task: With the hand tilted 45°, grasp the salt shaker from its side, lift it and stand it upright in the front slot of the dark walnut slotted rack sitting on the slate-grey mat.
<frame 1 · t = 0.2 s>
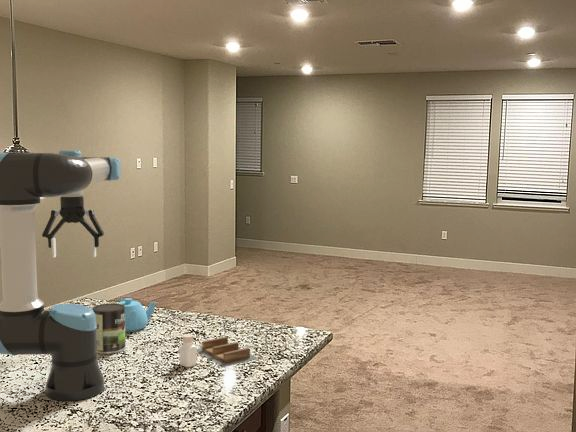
hand: (74, 257, 216), 28 cm above the countertop, tool pointing down, fingers open, 13 cm apart
salt shaker: (188, 366, 191), on the countertop
teapot: (129, 327, 229), on the countertop
coffee can: (109, 349, 205), on the countertop
mat: (225, 355, 201), on the countertop
rack: (231, 356, 198), resting on mat
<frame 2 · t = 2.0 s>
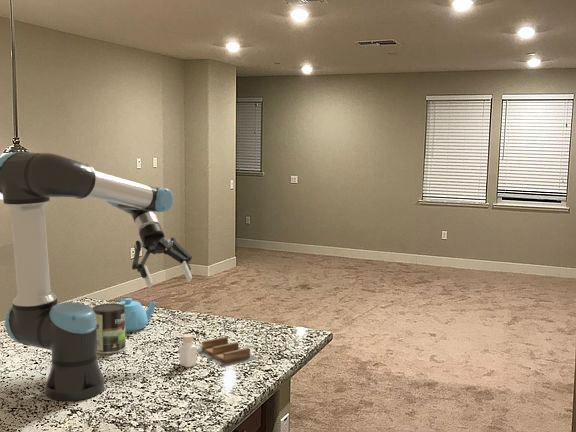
hand: (170, 282, 197), 24 cm above the countertop, tool tilted 45°, fingers open, 13 cm apart
nothing on the countertop moved.
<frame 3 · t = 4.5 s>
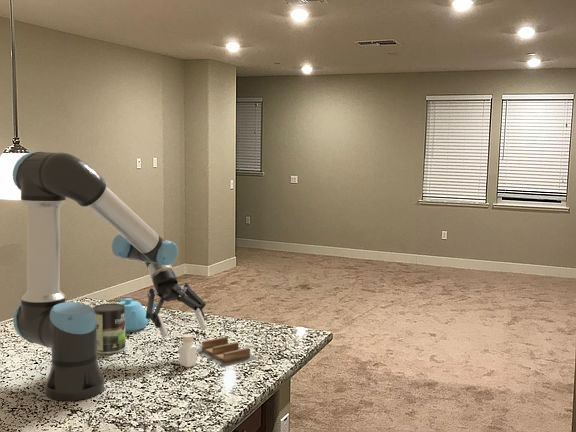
hand: (185, 332, 195), 9 cm above the countertop, tool tilted 45°, fingers open, 13 cm apart
nothing on the countertop moved.
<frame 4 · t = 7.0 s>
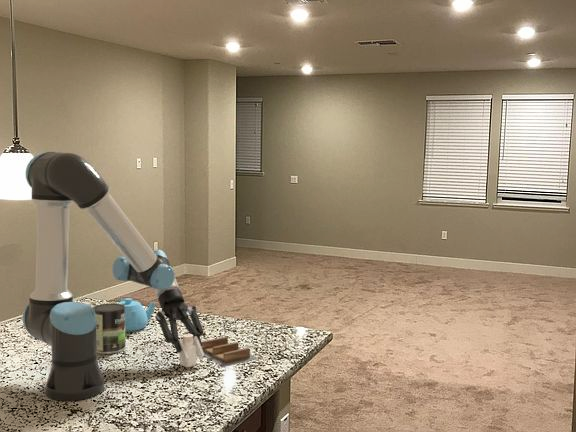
hand: (193, 358, 188), 3 cm above the countertop, tool tilted 45°, fingers closed on salt shaker, 4 cm apart
salt shaker: (188, 366, 191), on the countertop, touching gripper
everything else where it was.
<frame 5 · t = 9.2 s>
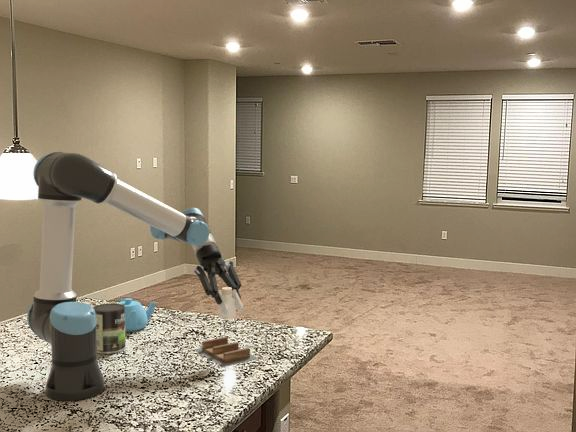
hand: (233, 310, 193), 17 cm above the countertop, tool tilted 45°, fingers closed on salt shaker, 4 cm apart
salt shaker: (227, 318, 196), point 13 cm above the countertop, touching gripper
everything else where it was.
when the fingers open (6 cm above the countertop, at t = 11.4 s): salt shaker drops 1 cm, resting on rack.
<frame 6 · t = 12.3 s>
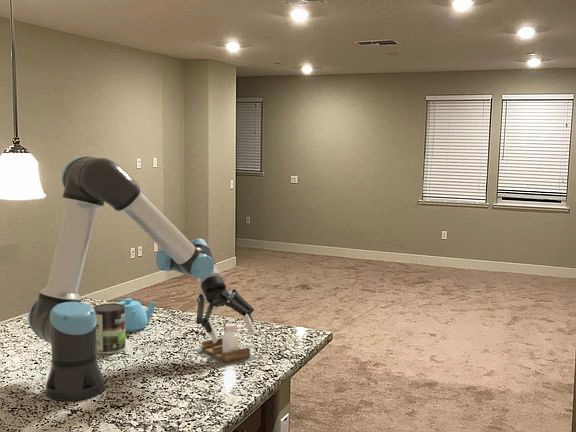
hand: (235, 337, 195), 7 cm above the countertop, tool tilted 45°, fingers open, 13 cm apart
salt shaker: (230, 354, 198), point 1 cm above the countertop, touching rack
everything else where it was.
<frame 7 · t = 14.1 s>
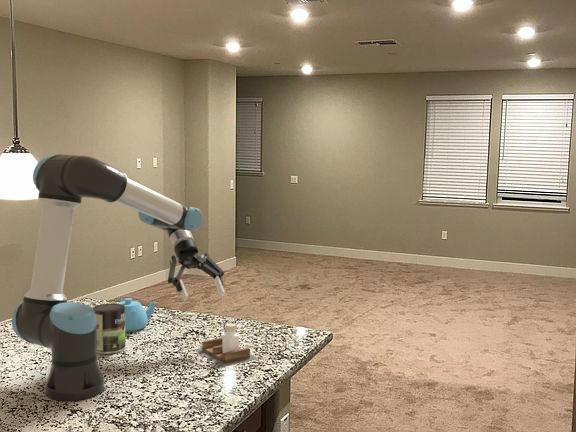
hand: (204, 296, 203), 18 cm above the countertop, tool tilted 45°, fingers open, 13 cm apart
nothing on the countertop moved.
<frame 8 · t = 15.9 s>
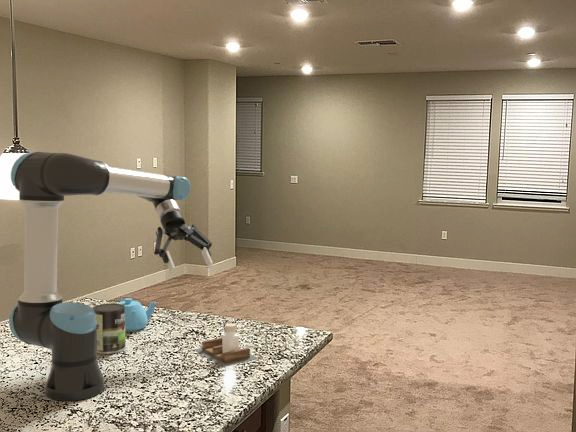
hand: (192, 267, 201), 28 cm above the countertop, tool tilted 45°, fingers open, 13 cm apart
nothing on the countertop moved.
at the end: salt shaker 0.2 cm from the rack (horizontally); salt shaker tilted 0°; salt shaker point 1.2 cm above the countertop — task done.
